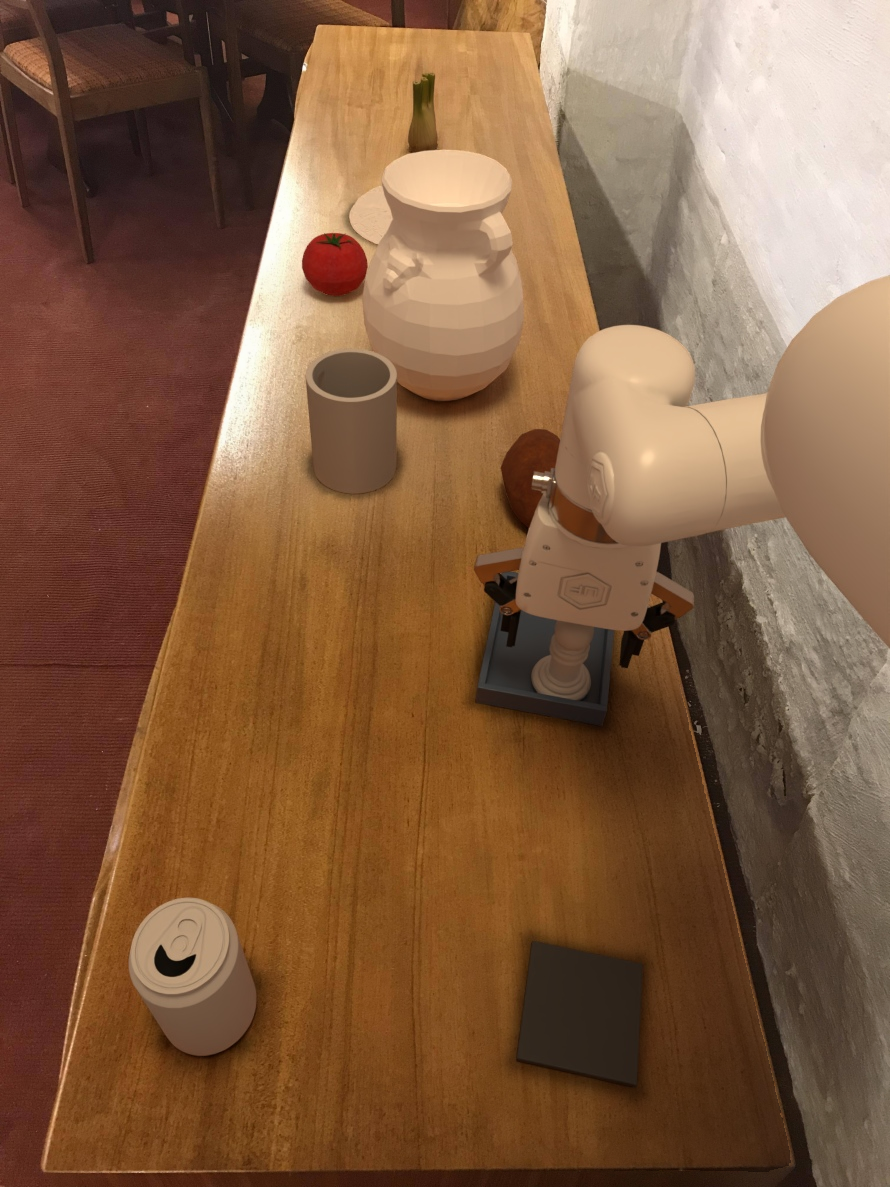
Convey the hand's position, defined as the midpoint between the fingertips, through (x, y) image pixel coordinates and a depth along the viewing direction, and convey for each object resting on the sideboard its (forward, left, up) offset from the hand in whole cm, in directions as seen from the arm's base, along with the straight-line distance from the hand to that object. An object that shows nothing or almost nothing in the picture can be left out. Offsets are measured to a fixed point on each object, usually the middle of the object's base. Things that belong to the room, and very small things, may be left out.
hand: (568, 644), depth 77 cm
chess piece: (0, 0, -6) cm, 6 cm away
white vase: (+42, +19, -6) cm, 47 cm away
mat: (-28, -5, -6) cm, 29 cm away
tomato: (+59, +37, -6) cm, 70 cm away
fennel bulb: (+106, +35, -6) cm, 112 cm away
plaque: (+82, +31, -6) cm, 88 cm away
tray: (+3, +1, -6) cm, 7 cm away
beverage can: (-33, +20, -6) cm, 39 cm away
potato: (+23, +5, -6) cm, 25 cm away
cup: (+24, +25, -6) cm, 36 cm away
